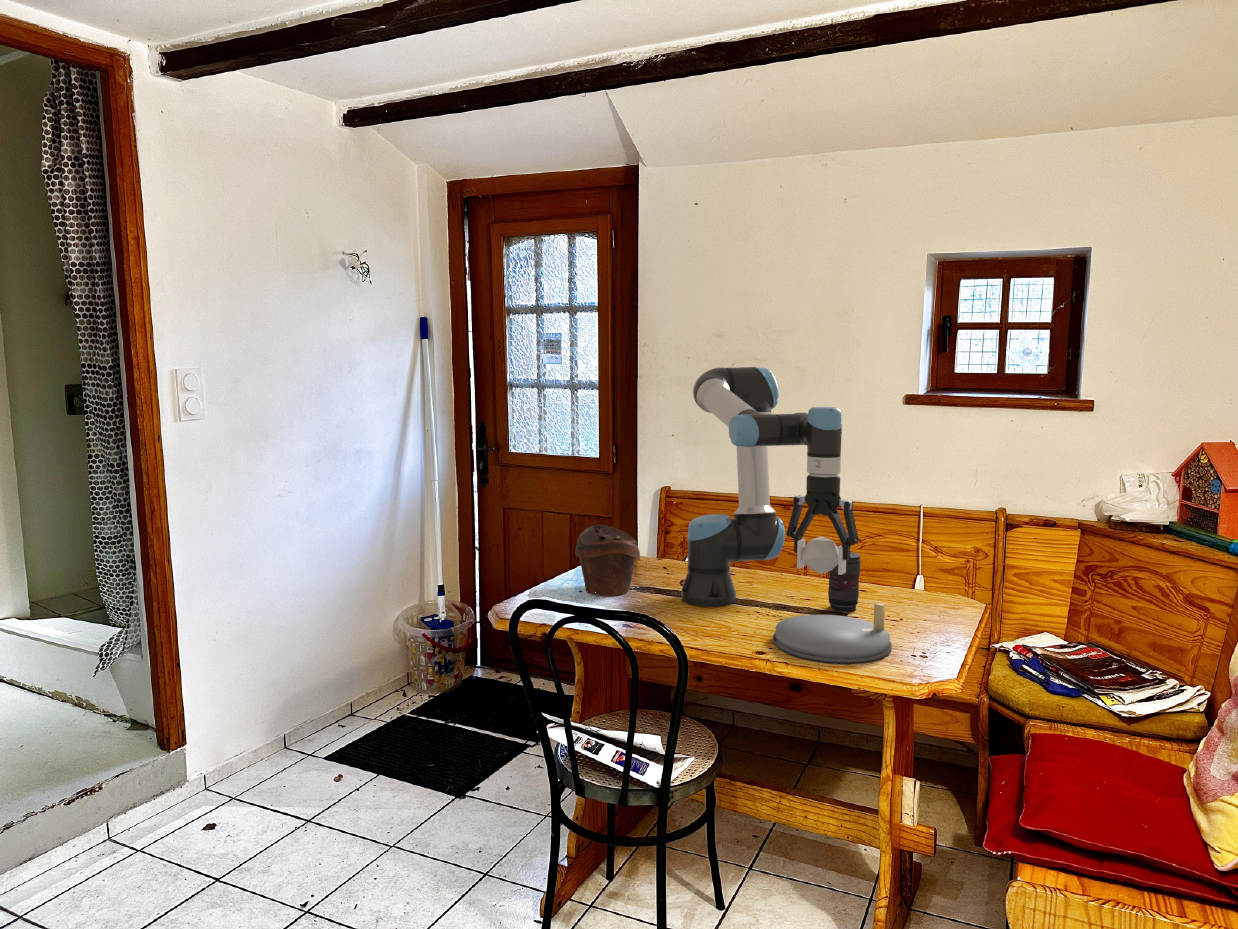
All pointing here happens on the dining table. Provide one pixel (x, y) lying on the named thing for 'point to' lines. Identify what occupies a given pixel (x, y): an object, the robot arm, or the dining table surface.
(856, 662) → the turntable base
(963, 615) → the dining table surface
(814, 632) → the turntable
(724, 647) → the dining table surface
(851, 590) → the camera lens
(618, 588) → the brown tapered cup shape
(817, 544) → the die
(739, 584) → the dining table surface
